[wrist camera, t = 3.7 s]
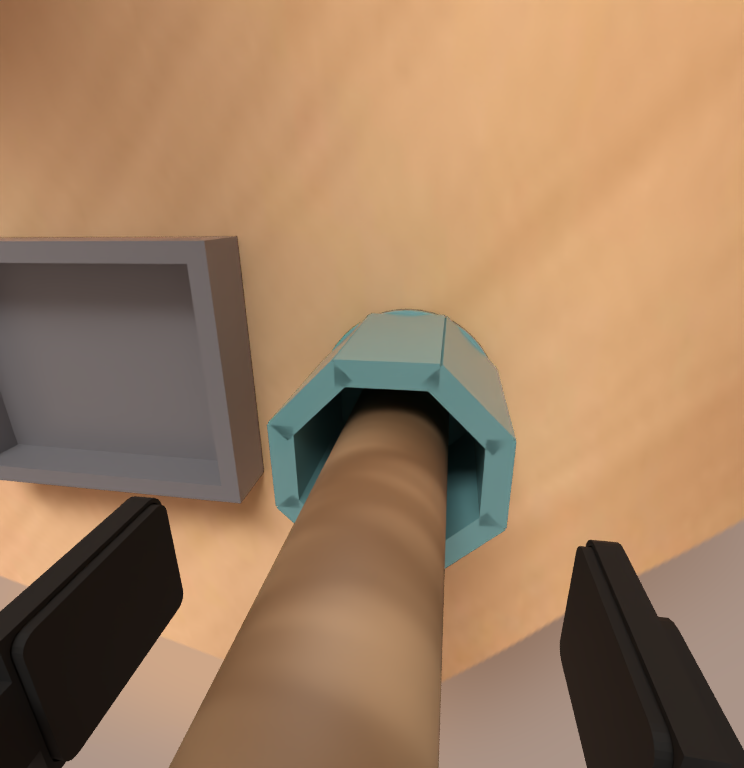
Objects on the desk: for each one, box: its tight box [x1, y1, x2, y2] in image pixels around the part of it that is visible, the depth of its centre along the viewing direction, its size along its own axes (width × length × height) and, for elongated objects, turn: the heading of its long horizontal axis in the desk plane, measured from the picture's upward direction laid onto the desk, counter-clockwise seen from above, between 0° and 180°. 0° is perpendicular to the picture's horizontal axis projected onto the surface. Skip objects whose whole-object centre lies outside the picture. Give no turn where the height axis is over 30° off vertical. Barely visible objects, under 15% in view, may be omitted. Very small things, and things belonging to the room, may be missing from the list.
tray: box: [0, 237, 264, 503], centre depth 20 cm, size 14×11×3 cm
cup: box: [267, 309, 516, 568], centre depth 16 cm, size 7×7×6 cm
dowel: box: [169, 388, 449, 768], centre depth 12 cm, size 4×4×15 cm
